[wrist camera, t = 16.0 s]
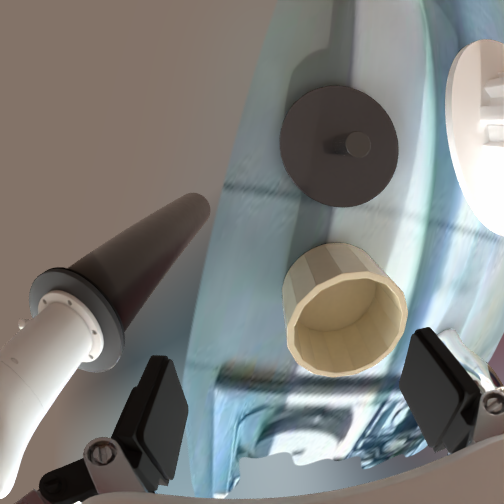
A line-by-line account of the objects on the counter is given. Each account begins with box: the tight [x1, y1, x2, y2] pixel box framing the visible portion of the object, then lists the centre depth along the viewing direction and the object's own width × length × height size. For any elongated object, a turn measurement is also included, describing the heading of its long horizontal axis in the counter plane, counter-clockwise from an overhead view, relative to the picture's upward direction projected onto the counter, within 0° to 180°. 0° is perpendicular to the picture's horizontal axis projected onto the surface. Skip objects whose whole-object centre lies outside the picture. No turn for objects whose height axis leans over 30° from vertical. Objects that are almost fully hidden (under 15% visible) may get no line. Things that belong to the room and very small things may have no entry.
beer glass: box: [437, 329, 504, 395], centre depth 30 cm, size 7×7×15 cm
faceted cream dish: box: [282, 243, 408, 377], centre depth 30 cm, size 12×12×8 cm
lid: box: [280, 86, 398, 207], centre depth 25 cm, size 13×13×6 cm
